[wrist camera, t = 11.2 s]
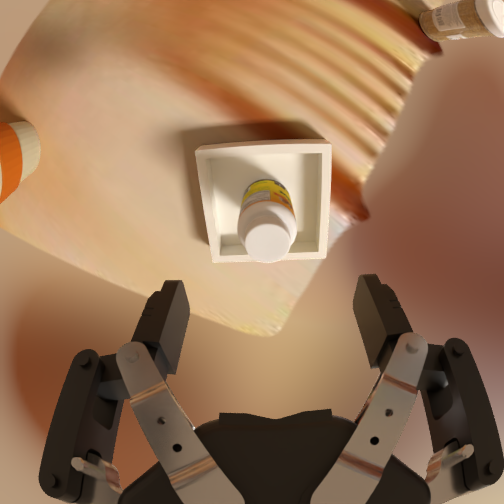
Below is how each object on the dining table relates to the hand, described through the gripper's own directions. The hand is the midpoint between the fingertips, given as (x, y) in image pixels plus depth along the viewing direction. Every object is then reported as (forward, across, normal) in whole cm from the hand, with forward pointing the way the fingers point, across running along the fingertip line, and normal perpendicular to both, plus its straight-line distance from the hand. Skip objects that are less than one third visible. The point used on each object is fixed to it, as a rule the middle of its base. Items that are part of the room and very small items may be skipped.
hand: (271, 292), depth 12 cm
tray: (+21, 0, +4) cm, 22 cm away
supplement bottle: (+21, 0, +4) cm, 21 cm away
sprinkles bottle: (+22, -22, -20) cm, 37 cm away
